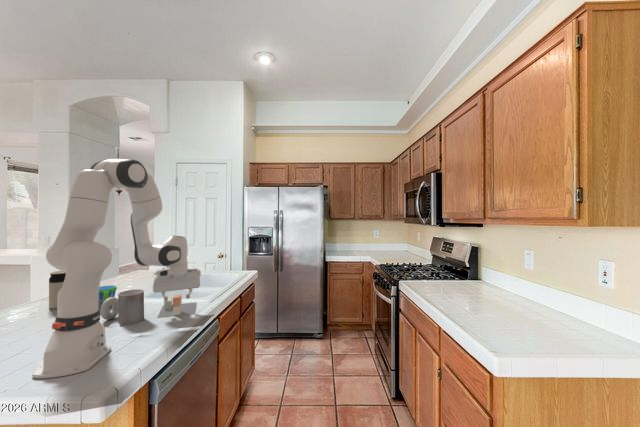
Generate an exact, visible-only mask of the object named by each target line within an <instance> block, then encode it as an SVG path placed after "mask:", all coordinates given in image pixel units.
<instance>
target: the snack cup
mask: <svg viewBox="0 0 640 427" xmlns="http://www.w3.org/2000/svg"><path fill="white" fill-rule="evenodd" d="M117 289H118V286H117V285H101V286H99V304H98V309H99V310H100V309H101V306H102V304H103V302H104V301H105V300H106V299H108V298H110V297H115V298H116V291H117ZM110 308H112V305H111V306H110Z"/></svg>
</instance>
